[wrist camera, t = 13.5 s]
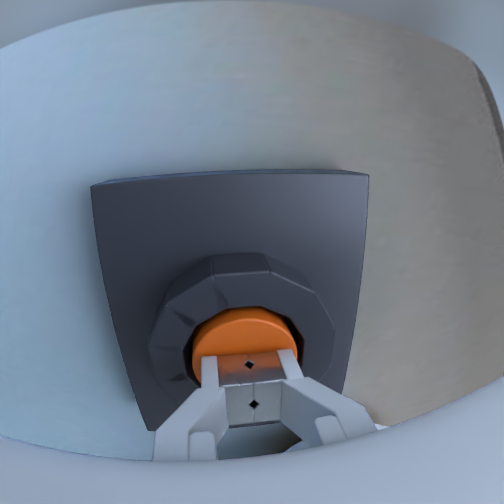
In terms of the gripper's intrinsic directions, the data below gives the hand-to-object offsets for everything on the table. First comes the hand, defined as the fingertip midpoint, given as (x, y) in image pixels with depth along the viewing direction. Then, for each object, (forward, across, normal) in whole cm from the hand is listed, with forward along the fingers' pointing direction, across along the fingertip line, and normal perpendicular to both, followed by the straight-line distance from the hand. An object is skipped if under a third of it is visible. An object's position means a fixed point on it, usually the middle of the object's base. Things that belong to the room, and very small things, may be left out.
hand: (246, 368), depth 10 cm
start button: (+2, 0, 0) cm, 2 cm away
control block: (+4, 0, 0) cm, 4 cm away
